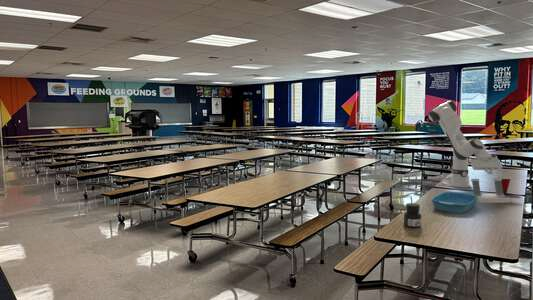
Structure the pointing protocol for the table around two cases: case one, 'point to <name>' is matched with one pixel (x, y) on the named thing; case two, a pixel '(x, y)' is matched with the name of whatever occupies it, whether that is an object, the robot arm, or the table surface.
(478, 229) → the table surface
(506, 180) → the plastic cup
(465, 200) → the casserole dish
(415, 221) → the ink bottle
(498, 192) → the lever
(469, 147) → the robot arm
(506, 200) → the switch panel
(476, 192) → the lever
